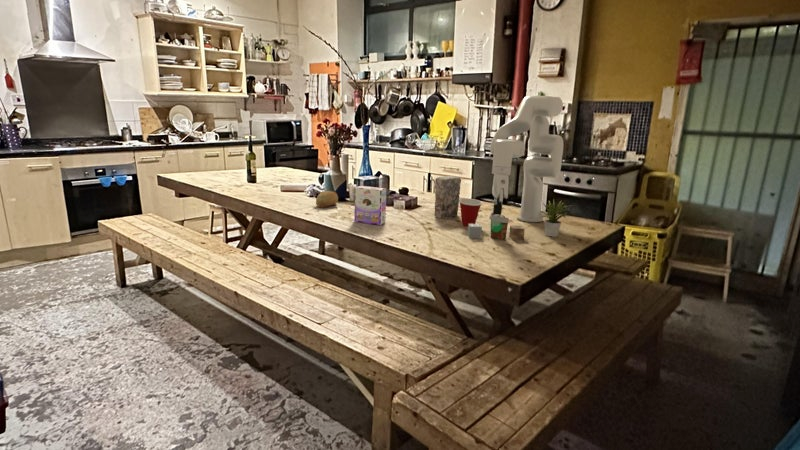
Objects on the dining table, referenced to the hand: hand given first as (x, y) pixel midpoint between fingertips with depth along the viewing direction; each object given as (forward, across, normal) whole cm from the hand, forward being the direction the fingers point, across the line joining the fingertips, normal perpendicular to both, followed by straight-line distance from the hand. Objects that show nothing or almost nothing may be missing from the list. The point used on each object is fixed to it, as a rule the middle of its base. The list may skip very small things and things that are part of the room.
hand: (497, 213), depth 193 cm
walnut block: (+10, 0, -9) cm, 14 cm away
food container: (+10, 0, 0) cm, 11 cm away
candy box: (+11, +17, +55) cm, 58 cm away
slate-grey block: (+10, 0, +9) cm, 14 cm away
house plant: (+10, +6, -26) cm, 29 cm away
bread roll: (+11, +50, +80) cm, 95 cm away
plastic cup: (+10, +18, +9) cm, 23 cm away
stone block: (+10, +36, +18) cm, 42 cm away
